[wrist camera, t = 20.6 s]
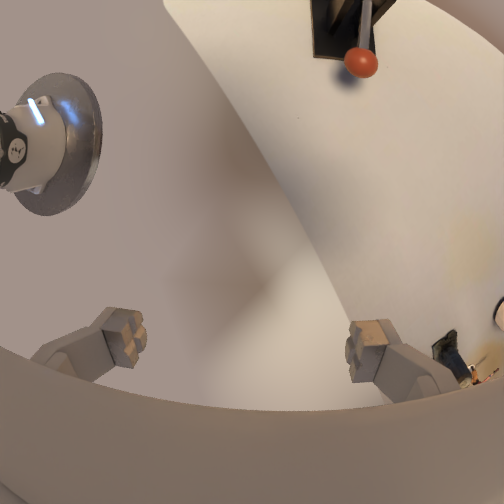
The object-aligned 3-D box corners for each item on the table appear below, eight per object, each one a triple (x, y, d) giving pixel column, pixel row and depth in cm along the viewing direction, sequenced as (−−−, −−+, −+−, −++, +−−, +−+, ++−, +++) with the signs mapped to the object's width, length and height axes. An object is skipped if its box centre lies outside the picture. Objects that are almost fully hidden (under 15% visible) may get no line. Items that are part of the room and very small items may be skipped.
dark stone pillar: (426, 347, 47) (448, 387, 36) (454, 326, 45) (480, 362, 34) (435, 368, 50) (454, 404, 39) (461, 349, 47) (483, 383, 36)
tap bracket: (373, 65, 31) (419, 34, 17) (313, 57, 31) (333, 14, 17) (366, 3, 26) (400, -43, 12) (309, -6, 27) (322, -60, 13)
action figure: (485, 349, 47) (502, 372, 39) (488, 353, 48) (504, 375, 39) (452, 381, 51) (465, 406, 43) (455, 384, 52) (469, 408, 43)
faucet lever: (370, 75, 27) (380, 84, 25) (339, 70, 27) (347, 79, 25) (378, -18, 17) (390, -19, 14) (344, -25, 17) (353, -28, 14)
